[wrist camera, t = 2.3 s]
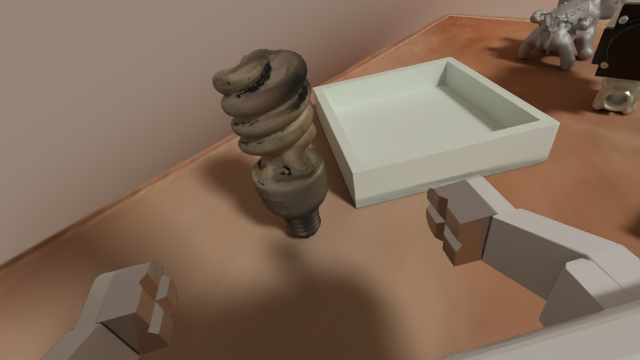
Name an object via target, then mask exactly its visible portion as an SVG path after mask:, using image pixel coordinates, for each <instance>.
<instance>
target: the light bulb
mask: <svg viewBox="0 0 640 360" xmlns="http://www.w3.org/2000/svg"><path fill="white" fill-rule="evenodd" d="M306 75H307V65H306V63H305V61H304V59H303V58H302V57H301V55H299V54H298V53H296V52H293V51H289V50H268V49H259V50H255V51H253V52H251V53H249V54H248V55H246V56H244V57H243V58H242V59H241V62H240V63H239V65H237V66H236V67H234V68H230V69H226V70H222V71H219V72H217V73H215V74H214V76H213V78H212V81H213V86H214V88H215V89H216V90H217V91H218V92H220V93H222V94H223V95H224V96H223V98H222V100H221V107H222V109H223V111H224V112H225V113H226V114H228V115H229V116H232V117H234V118H233V119H232V122H231V127H232V130H233V131H234V132H235V134H237V135H239V136H241V137H240V139H239V141H238V146H239V148H240V149H241V150H242V151H243V152H244V153H246V154H249V155H255V156H261V158H260V159H259V160H258V161H257V162H256V164H255V165H254V166H253V169H252V179H253V182H254V184H255V187H256V190H257V192H258V194H259V196H260V198H261V200H262V202H263V204H264V205H265V206H266V208H267V209H268V210H270V211H271V212H272V213H274V214H276V215H278V216H281V217H283V218H284V219H285V221H286V222H287V228H288V229H289V231H290V233H291V234H293V235H295V236H297V237H301V238H309V237H310V236H312V235H314V234H315V233H316V232H317V230H318V228H319V227H320V224H321V219H320V216H319V211H318V209H319V206H320V204H321V203H322V202H323V200H324V199H325V196H326V194H327V189H328V184H327V176H326V168H325V164H324V159H323V157H322V155H321V154H320V152H318V151H317V150H315V149H313V148H311V147H308V145H309V144H310V143H311V142H312V141H313V140H314V138H315V136H316V134H317V131H316V125H315V123H314V121H313V117H314V109H313V105H312V103H311V101H310V97H311V86H310V83H309V82H308V80H307V79H306Z"/></svg>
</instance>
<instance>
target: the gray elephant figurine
mask: <svg viewBox="0 0 640 360" xmlns="http://www.w3.org/2000/svg"><path fill="white" fill-rule="evenodd" d="M614 2H615V0H559V2H558V7H557V8H555V9H554V10H553V11H552V12H551V13H548V12H545V11H542V10H538V11H536V12H535V13H533V15H532V16H531V17H530V21H531V22H533V23H538V24H539V27H538V28H537V29H535V30H534V31H533V32H532V33H531V34H530V35H529V36H528V37H527V38H526V39H525V40H524V42H523V43H522V44H521V46H520V47H519V48H518V58H519V59H524V58H526V57H527V55H528V54H529V53H530V51H531V50H532V49H534V48H535V47H536V48H540V49H541V50H542V51H547V52H546V55H548V54H549V52H550V51H551V50H556V51H558V54H559V57H560V61H561V62H560V67H561V69H562V70H569V69H571V68H572V67H573V66H574V64H575V56H574V49H573V42H574V45H575V47H576V50H577V55H578V57H579V59H581V60H585V59H588V58H590V57H592V56H593V54H594V50H593V49H592V47H591V46H592V42H593V39H594V36H595V31H596V27H597V24H598V20H599V19H601V20H605V19H611V18H612V17H613V15H614V13H615V12H616V10H617V9H618V7H619V5H620V4H621V1H619V3H618V4H614ZM542 15H545V16H544V20H542V21H541V16H542Z"/></svg>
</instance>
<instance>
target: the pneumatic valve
mask: <svg viewBox="0 0 640 360" xmlns="http://www.w3.org/2000/svg"><path fill="white" fill-rule="evenodd" d="M619 1H621V4H620V5H619V7H618V9H617V10H616V12H615V13H614V15H613V17H612V18H611V20H610V21H609V23H608V24H607V26H606V28H605V29H604V31H603V34H602V37H601V39H600V42H599V44H598V47H597V50H596V52H595V55H594V57H593V60H592V64H598V65H599V66H598V69H597V71H596V74H595V76H601V77H604V78H603V80H602V82H601V86H602V88H601V90H599V92H598V93H597V95H596V98H595V99H594V101H593V103H592V107H593V108H594V109H596V110H598V109H602V108H604V109H607V110H611V111H621V112H622V113H623V114H626V115H628V114H632V113H633V112H634V111H635V108H636V105H637V102H638V99H639V96H640V0H615V2H614V4H618V3H619Z"/></svg>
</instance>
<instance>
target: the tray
mask: <svg viewBox="0 0 640 360" xmlns="http://www.w3.org/2000/svg"><path fill="white" fill-rule="evenodd" d="M313 92H314V97H315V103H316V109H317V115H318V118H319V121H320V123H321V125H322V128H323V130H324V133H325V135H326V137H327V140H328V142H329V144H330V147H331V149H332V152H333V154H334V156H335V159H336V161H337V163H338V166H339V168H340V171H341V173H342V175H343V178H344V180H345V182H346V185H347V187H348V190H349V192H350V194H351V197H352V199H353V201H354V204H355V206H356V209H357V208H361V207H365V206H369V205H373V204H377V203H381V202H385V201H389V200H393V199H397V198H401V197H405V196H409V195H413V194H417V193H421V192H425V191H428V189H429V188H430V187H434V186H438V185H441V184H445V183H449V182H452V181H456V180H461V179H463V178H467V177H470V176H474V175H480V176H482V177H485V176H489V175H493V174H497V173H501V172H505V171H509V170H513V169H517V168H521V167H525V166H529V165H533V164H537V163H541V162H545V161H547V158H548V155H549V152H550V150H551V147H552V144H553V142H554V139H555V136H556V133H557V131H558V128H559V125H560V122H558V121H556V120H555V119H553V118H551V117H550V116H548V115H546V114H545V113H543V112H541V111H540V110H538V109H536V108H535V107H533V106H531V105H530V104H528V103H526V102H525V101H523V100H522V99H520V98H518V97H517V96H515V95H513V94H512V93H510V92H508V91H507V90H505V89H503V88H502V87H500V86H498V85H497V84H495V83H493V82H492V81H490V80H488V79H487V78H485V77H483V76H482V75H480V74H479V73H477V72H475V71H474V70H472V69H470V68H469V67H467V66H465V65H464V64H462V63H460V62H459V61H457V60H455V59H454V58H452V57H448V58H443V59H439V60H434V61H430V62H426V63H421V64H417V65H412V66H408V67H403V68H399V69H394V70H390V71H386V72H381V73H377V74H372V75H368V76H363V77H359V78H354V79H350V80H345V81H341V82H337V83H332V84H328V85H323V86H319V87H314V88H313Z"/></svg>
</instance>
